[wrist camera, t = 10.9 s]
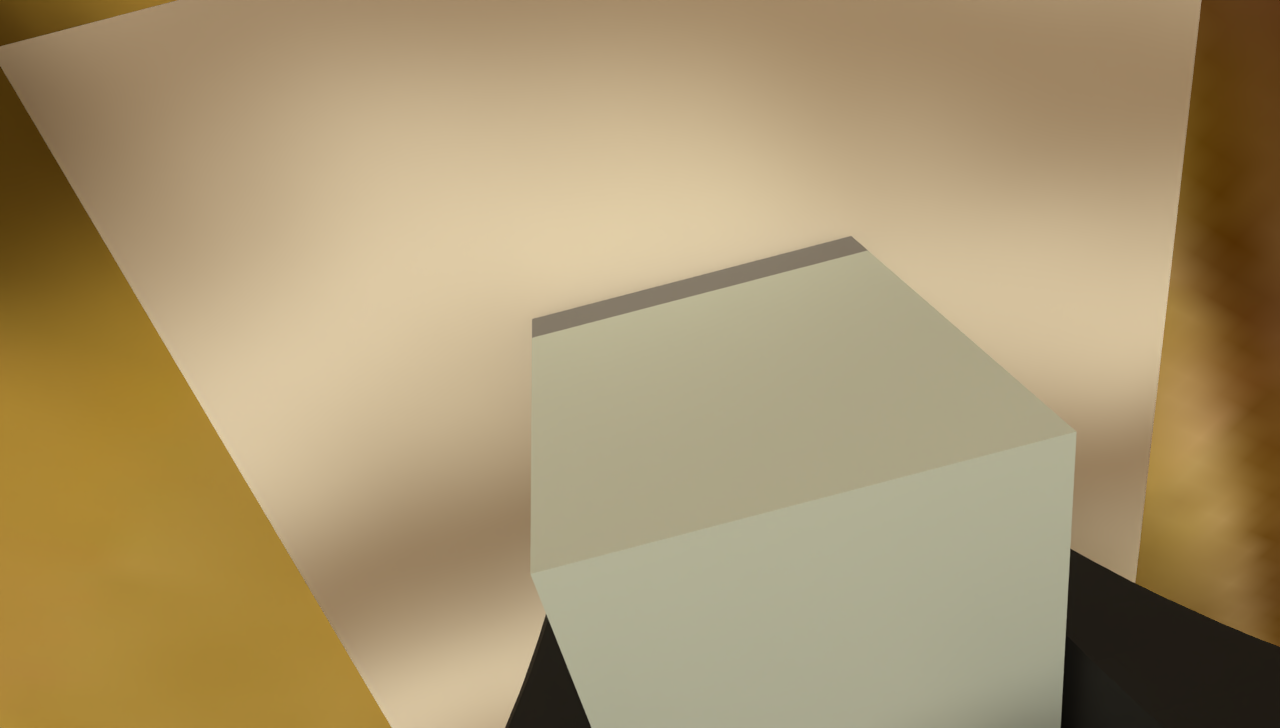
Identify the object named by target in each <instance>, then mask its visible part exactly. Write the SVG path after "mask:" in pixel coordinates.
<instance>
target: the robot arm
mask: <svg viewBox="0 0 1280 728" xmlns="http://www.w3.org/2000/svg"><path fill="white" fill-rule="evenodd" d="M505 728H591V725H590V723H589V720H588V718H587V715H586V713H585V710H584V708H583V705H582V703H581V700H580V698H579V695H578V693H577V690H576V688H575V685H574V683H573V680H572V677H571V675H570V672H569V670H568V667H567V665H566V662H565V660H564V657H563V655H562V652H561V650H560V647H559V645H558V642H557V640H556V637H555V635H554V632H553V630H552V627H551V625H550V622H549V620H548V617H547V615H545V619H544V622H543V625H542V629H541V632H540V635H539V638H538V641H537V644H536V647H535V650H534V653H533V656H532V659H531V662H530V664H529V667H528V670H527V673H526V676H525V679H524V682H523V684H522V687H521V690H520V692H519V695H518V697H517V700H516V702H515V704H514V707H513V709H512V712H511V714H510V717H509V719H508V722H507V724H506V726H505ZM1061 728H1280V647H1278V646H1276V645H1273V644H1270V643H1268V642H1265V641H1263V640H1260V639H1257V638H1255V637H1252V636H1250V635H1248V634H1245V633H1243V632H1240V631H1238V630H1236V629H1233V628H1231V627H1228V626H1226V625H1224V624H1221V623H1219V622H1217V621H1215V620H1212V619H1210V618H1208V617H1206V616H1204V615H1201V614H1199V613H1197V612H1195V611H1193V610H1190V609H1188V608H1186V607H1184V606H1182V605H1179V604H1177V603H1175V602H1173V601H1171V600H1168V599H1166V598H1164V597H1162V596H1160V595H1158V594H1156V593H1154V592H1152V591H1150V590H1148V589H1145V588H1143V587H1141V586H1139V585H1137V584H1135V583H1133V582H1131V581H1130V580H1128V579H1126V578H1124V577H1122V576H1120V575H1118V574H1116V573H1115V572H1113V571H1111V570H1109V569H1107V568H1105V567H1103V566H1101V565H1099V564H1098V563H1096V562H1094V561H1092V560H1090V559H1088V558H1087V557H1085V556H1083V555H1081V554H1079V553H1078V552H1076V551H1074V550H1072V549H1071V548H1070V564H1069V582H1068V601H1067V619H1066V638H1065V656H1064V675H1063V693H1062V712H1061Z"/></svg>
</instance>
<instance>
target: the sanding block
mask: <svg viewBox="0 0 1280 728" xmlns="http://www.w3.org/2000/svg"><path fill="white" fill-rule="evenodd" d="M1076 434H1077V432H1076V431H1075V430H1074V429H1073V428H1072V427H1071V426H1070V425H1068V424H1067V423H1066V422H1065V421H1064V420H1063V419H1061V418H1060V417H1059V416H1058V415H1057V414H1056V413H1055V412H1053V411H1052V410H1051V409H1050V408H1049V407H1048V406H1047V405H1045V404H1044V403H1043V402H1042V401H1041V400H1040V399H1038V398H1037V397H1036V396H1035V395H1034V394H1033V393H1032V392H1030V391H1029V390H1028V389H1027V388H1026V387H1025V386H1023V385H1022V384H1021V383H1020V382H1019V381H1018V380H1017V379H1015V378H1014V377H1013V376H1012V375H1011V374H1010V373H1009V372H1007V371H1006V370H1005V369H1004V368H1003V367H1002V366H1000V365H999V364H998V363H997V362H996V361H995V360H994V359H992V358H991V357H990V356H989V355H988V354H987V353H985V352H984V351H983V350H982V349H981V348H980V347H979V346H977V345H976V344H975V343H974V342H973V341H972V340H971V339H969V338H968V337H967V336H966V335H965V334H964V333H962V332H961V331H960V330H959V329H958V328H957V327H956V326H954V325H953V324H952V323H951V322H950V321H949V320H947V319H946V318H945V317H944V316H943V315H942V314H941V313H939V312H938V311H937V310H936V309H935V308H934V307H933V306H931V305H930V304H929V303H928V302H927V301H926V300H924V299H923V298H922V297H921V296H920V295H919V294H918V293H916V292H915V291H914V290H913V289H912V288H911V287H909V286H908V285H907V284H906V283H905V282H904V281H903V280H901V279H900V278H899V277H898V276H897V275H896V274H895V273H893V272H892V271H891V270H890V269H889V268H888V267H886V266H885V265H884V264H883V263H882V262H881V261H880V260H878V259H877V258H876V257H875V256H874V255H873V254H871V253H870V252H869V251H868V250H867V249H866V248H865V247H863V246H862V245H861V244H860V243H859V242H858V241H857V240H855V239H854V238H853V237H852V236H849V237H845V238H841V239H838V240H834V241H830V242H826V243H822V244H818V245H815V246H811V247H807V248H803V249H799V250H795V251H791V252H788V253H784V254H780V255H776V256H772V257H768V258H765V259H761V260H757V261H753V262H749V263H745V264H742V265H738V266H734V267H730V268H726V269H722V270H719V271H715V272H711V273H707V274H703V275H699V276H695V277H692V278H688V279H684V280H680V281H676V282H672V283H669V284H665V285H661V286H657V287H653V288H649V289H646V290H642V291H638V292H634V293H630V294H626V295H623V296H619V297H615V298H611V299H607V300H603V301H600V302H596V303H592V304H588V305H584V306H580V307H576V308H573V309H569V310H565V311H561V312H557V313H553V314H550V315H546V316H542V317H538V318H534V319H532V401H531V548H530V574H531V577H532V580H533V582H534V585H535V587H536V590H537V592H538V595H539V597H540V600H541V602H542V605H543V607H544V610H545V612H546V615H547V617H548V620H549V622H550V625H551V627H552V630H553V632H554V635H555V637H556V640H557V642H558V645H559V647H560V650H561V652H562V655H563V657H564V660H565V662H566V665H567V667H568V670H569V672H570V675H571V677H572V680H573V683H574V685H575V688H576V690H577V693H578V695H579V698H580V700H581V703H582V705H583V708H584V710H585V713H586V715H587V718H588V720H589V723H590V725H591V728H1061V712H1062V693H1063V675H1064V656H1065V638H1066V619H1067V601H1068V582H1069V564H1070V545H1071V527H1072V508H1073V490H1074V471H1075V453H1076Z"/></svg>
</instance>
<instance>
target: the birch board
mask: <svg viewBox="0 0 1280 728" xmlns="http://www.w3.org/2000/svg"><path fill="white" fill-rule="evenodd" d="M1200 8H1201V0H177V1H173V2H169V3H166V4H162V5H158V6H154V7H150V8H146V9H142V10H139V11H135V12H131V13H127V14H123V15H119V16H115V17H112V18H108V19H104V20H100V21H96V22H92V23H88V24H85V25H81V26H77V27H73V28H69V29H65V30H62V31H58V32H54V33H50V34H46V35H42V36H38V37H35V38H31V39H27V40H23V41H19V42H15V43H11V44H8V45H4V46H0V66H1V68H2V70H3V72H4V73H5V75H6V77H7V78H8V80H9V82H10V83H11V85H12V87H13V88H14V90H15V92H16V93H17V95H18V97H19V99H20V100H21V102H22V104H23V105H24V107H25V109H26V110H27V112H28V114H29V115H30V117H31V119H32V121H33V122H34V124H35V126H36V127H37V129H38V131H39V132H40V134H41V136H42V137H43V139H44V141H45V142H46V144H47V146H48V148H49V149H50V151H51V153H52V154H53V156H54V158H55V159H56V161H57V163H58V164H59V166H60V168H61V170H62V171H63V173H64V175H65V176H66V178H67V180H68V181H69V183H70V185H71V186H72V188H73V190H74V191H75V193H76V195H77V197H78V198H79V200H80V202H81V203H82V205H83V207H84V208H85V210H86V212H87V213H88V215H89V217H90V219H91V220H92V222H93V224H94V225H95V227H96V229H97V230H98V232H99V234H100V235H101V237H102V239H103V241H104V242H105V244H106V246H107V247H108V249H109V251H110V252H111V254H112V256H113V257H114V259H115V261H116V262H117V264H118V266H119V268H120V269H121V271H122V273H123V274H124V276H125V278H126V279H127V281H128V283H129V284H130V286H131V288H132V290H133V291H134V293H135V295H136V296H137V298H138V300H139V301H140V303H141V305H142V306H143V308H144V310H145V311H146V313H147V315H148V317H149V318H150V320H151V322H152V323H153V325H154V327H155V328H156V330H157V332H158V333H159V335H160V337H161V339H162V340H163V342H164V344H165V345H166V347H167V349H168V350H169V352H170V354H171V355H172V357H173V359H174V360H175V362H176V364H177V366H178V367H179V369H180V371H181V372H182V374H183V376H184V377H185V379H186V381H187V382H188V384H189V386H190V388H191V389H192V391H193V393H194V394H195V396H196V398H197V399H198V401H199V403H200V404H201V406H202V408H203V409H204V411H205V413H206V415H207V416H208V418H209V420H210V421H211V423H212V425H213V426H214V428H215V430H216V431H217V433H218V435H219V437H220V438H221V440H222V442H223V443H224V445H225V447H226V448H227V450H228V452H229V453H230V455H231V457H232V459H233V460H234V462H235V464H236V465H237V467H238V469H239V470H240V472H241V474H242V475H243V477H244V479H245V480H246V482H247V484H248V486H249V487H250V489H251V491H252V492H253V494H254V496H255V497H256V499H257V501H258V502H259V504H260V506H261V508H262V509H263V511H264V513H265V514H266V516H267V518H268V519H269V521H270V523H271V524H272V526H273V528H274V529H275V531H276V533H277V535H278V536H279V538H280V540H281V541H282V543H283V545H284V546H285V548H286V550H287V551H288V553H289V555H290V557H291V558H292V560H293V562H294V563H295V565H296V567H297V568H298V570H299V572H300V573H301V575H302V577H303V578H304V580H305V582H306V584H307V585H308V587H309V589H310V590H311V592H312V594H313V595H314V597H315V599H316V600H317V602H318V604H319V606H320V607H321V609H322V611H323V612H324V614H325V616H326V617H327V619H328V621H329V622H330V624H331V626H332V628H333V629H334V631H335V633H336V634H337V636H338V638H339V639H340V641H341V643H342V644H343V646H344V648H345V649H346V651H347V653H348V655H349V656H350V658H351V660H352V661H353V663H354V665H355V666H356V668H357V670H358V671H359V673H360V675H361V677H362V678H363V680H364V682H365V683H366V685H367V687H368V688H369V690H370V692H371V693H372V695H373V697H374V698H375V700H376V702H377V704H378V705H379V707H380V709H381V710H382V712H383V714H384V715H385V717H386V719H387V720H388V722H389V724H390V726H391V727H392V728H505V726H506V724H507V722H508V719H509V717H510V714H511V712H512V709H513V707H514V704H515V702H516V700H517V697H518V695H519V692H520V690H521V687H522V684H523V682H524V679H525V676H526V673H527V670H528V667H529V664H530V662H531V659H532V656H533V653H534V650H535V647H536V644H537V641H538V638H539V635H540V632H541V629H542V625H543V622H544V619H545V615H546V612H545V610H544V607H543V605H542V602H541V600H540V597H539V595H538V592H537V590H536V587H535V585H534V582H533V580H532V577H531V574H530V548H531V401H532V319H534V318H538V317H542V316H546V315H550V314H553V313H557V312H561V311H565V310H569V309H573V308H576V307H580V306H584V305H588V304H592V303H596V302H600V301H603V300H607V299H611V298H615V297H619V296H623V295H626V294H630V293H634V292H638V291H642V290H646V289H649V288H653V287H657V286H661V285H665V284H669V283H672V282H676V281H680V280H684V279H688V278H692V277H695V276H699V275H703V274H707V273H711V272H715V271H719V270H722V269H726V268H730V267H734V266H738V265H742V264H745V263H749V262H753V261H757V260H761V259H765V258H768V257H772V256H776V255H780V254H784V253H788V252H791V251H795V250H799V249H803V248H807V247H811V246H815V245H818V244H822V243H826V242H830V241H834V240H838V239H841V238H845V237H849V236H852V237H853V238H854V239H855V240H857V241H858V242H859V243H860V244H861V245H862V246H863V247H865V248H866V249H867V250H868V251H869V252H870V253H871V254H873V255H874V256H875V257H876V258H877V259H878V260H880V261H881V262H882V263H883V264H884V265H885V266H886V267H888V268H889V269H890V270H891V271H892V272H893V273H895V274H896V275H897V276H898V277H899V278H900V279H901V280H903V281H904V282H905V283H906V284H907V285H908V286H909V287H911V288H912V289H913V290H914V291H915V292H916V293H918V294H919V295H920V296H921V297H922V298H923V299H924V300H926V301H927V302H928V303H929V304H930V305H931V306H933V307H934V308H935V309H936V310H937V311H938V312H939V313H941V314H942V315H943V316H944V317H945V318H946V319H947V320H949V321H950V322H951V323H952V324H953V325H954V326H956V327H957V328H958V329H959V330H960V331H961V332H962V333H964V334H965V335H966V336H967V337H968V338H969V339H971V340H972V341H973V342H974V343H975V344H976V345H977V346H979V347H980V348H981V349H982V350H983V351H984V352H985V353H987V354H988V355H989V356H990V357H991V358H992V359H994V360H995V361H996V362H997V363H998V364H999V365H1000V366H1002V367H1003V368H1004V369H1005V370H1006V371H1007V372H1009V373H1010V374H1011V375H1012V376H1013V377H1014V378H1015V379H1017V380H1018V381H1019V382H1020V383H1021V384H1022V385H1023V386H1025V387H1026V388H1027V389H1028V390H1029V391H1030V392H1032V393H1033V394H1034V395H1035V396H1036V397H1037V398H1038V399H1040V400H1041V401H1042V402H1043V403H1044V404H1045V405H1047V406H1048V407H1049V408H1050V409H1051V410H1052V411H1053V412H1055V413H1056V414H1057V415H1058V416H1059V417H1060V418H1061V419H1063V420H1064V421H1065V422H1066V423H1067V424H1068V425H1070V426H1071V427H1072V428H1073V429H1074V430H1075V431H1076V432H1077V434H1076V453H1075V471H1074V490H1073V508H1072V527H1071V545H1070V548H1071V549H1072V550H1074V551H1076V552H1078V553H1079V554H1081V555H1083V556H1085V557H1087V558H1088V559H1090V560H1092V561H1094V562H1096V563H1098V564H1099V565H1101V566H1103V567H1105V568H1107V569H1109V570H1111V571H1113V572H1115V573H1116V574H1118V575H1120V576H1122V577H1124V578H1126V579H1128V580H1130V581H1131V582H1133V583H1135V582H1136V573H1137V564H1138V555H1139V546H1140V537H1141V529H1142V520H1143V511H1144V502H1145V493H1146V484H1147V476H1148V467H1149V458H1150V449H1151V440H1152V432H1153V423H1154V414H1155V405H1156V396H1157V387H1158V379H1159V370H1160V361H1161V352H1162V343H1163V334H1164V326H1165V317H1166V308H1167V299H1168V290H1169V281H1170V273H1171V264H1172V255H1173V246H1174V237H1175V228H1176V220H1177V211H1178V202H1179V193H1180V184H1181V176H1182V167H1183V158H1184V149H1185V140H1186V131H1187V123H1188V114H1189V105H1190V96H1191V87H1192V78H1193V70H1194V61H1195V52H1196V43H1197V34H1198V25H1199V17H1200Z"/></svg>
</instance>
